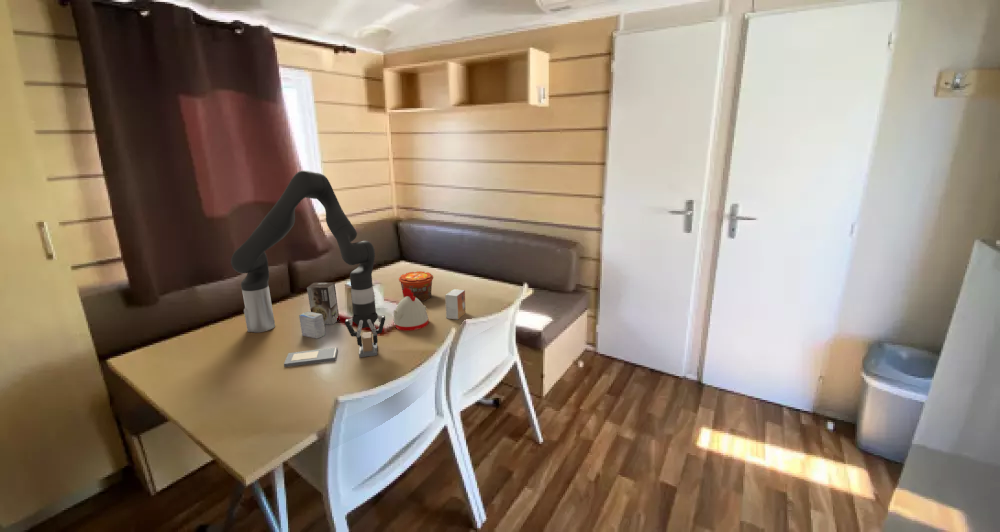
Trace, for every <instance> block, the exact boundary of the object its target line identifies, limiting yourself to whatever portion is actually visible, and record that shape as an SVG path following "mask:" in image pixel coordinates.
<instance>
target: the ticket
mask: <svg viewBox="0 0 1000 532" xmlns="http://www.w3.org/2000/svg"><path fill="white" fill-rule="evenodd" d="M337 356H338V347H336V346H335V347H327V348H320V349H318V348H317V349H313V350H312V349H310V350H303V351H297V352H296V351H294V352H288V354H287V356H286V358H285V359H284V360H285V361H284V362H283V367H284V368H289V367H295V366H304V365H313V364H319V363H320V364H321V363H328V362H335V361H336V359H337Z"/></svg>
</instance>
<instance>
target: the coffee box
mask: <svg viewBox="0 0 1000 532" xmlns="http://www.w3.org/2000/svg"><path fill="white" fill-rule="evenodd" d="M335 283H336V282H313V283H310V285H308V286H307V287H306V290H307V296H308V297H307V298H308V303H309V310H310V312H314V313H319V314H322V315H323V321H324V325H334V324H335V323H336V322H338V321H337V318H338V316H339V317H340V314H339V313H340V312H339V305H338V299H337V292H336V291H337V290H336V289H337V288H336V284H335Z"/></svg>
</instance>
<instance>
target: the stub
mask: <svg viewBox="0 0 1000 532" xmlns="http://www.w3.org/2000/svg"><path fill="white" fill-rule="evenodd" d="M361 338H362V347H360V346H359V347H358V357H359V358H365V357H372V356H378V342H377V343H376V345H374V343H373V332H372V331H366V332H361Z"/></svg>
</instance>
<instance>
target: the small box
mask: <svg viewBox="0 0 1000 532" xmlns="http://www.w3.org/2000/svg"><path fill="white" fill-rule="evenodd" d="M444 297H445V317H446V319H453V320H459V319H460V318H461V317H463V316H464V315H465V314H466V290H464V289H457V288H456V289H454V288H453V289H452V290H451V291H448V293H446V294H445V295H444Z"/></svg>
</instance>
